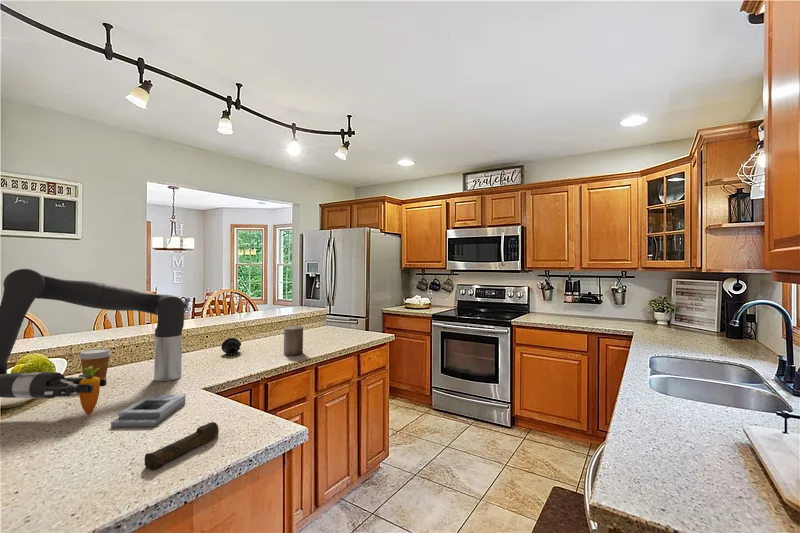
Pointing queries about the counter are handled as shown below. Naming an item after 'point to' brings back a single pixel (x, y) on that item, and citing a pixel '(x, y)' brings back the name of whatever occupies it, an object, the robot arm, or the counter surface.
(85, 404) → the carrot
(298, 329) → the pillar candle
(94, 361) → the disposable coffee cup
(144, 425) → the shallow gray tray
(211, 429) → the dark brown stick
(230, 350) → the black round flared piece
